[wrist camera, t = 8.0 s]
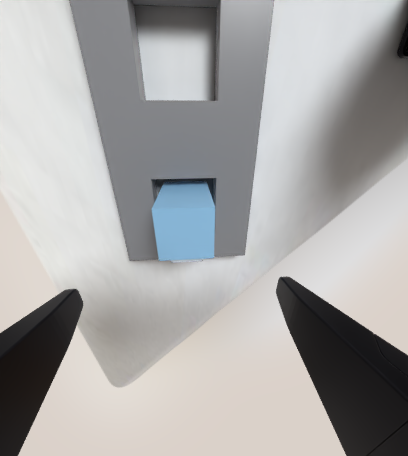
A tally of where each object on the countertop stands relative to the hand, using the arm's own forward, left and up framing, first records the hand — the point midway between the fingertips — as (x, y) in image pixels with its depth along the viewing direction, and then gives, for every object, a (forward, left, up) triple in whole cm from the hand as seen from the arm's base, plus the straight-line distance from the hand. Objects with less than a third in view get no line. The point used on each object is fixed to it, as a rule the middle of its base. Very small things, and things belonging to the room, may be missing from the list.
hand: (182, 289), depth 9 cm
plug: (0, 0, -12) cm, 12 cm away
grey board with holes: (0, -6, -12) cm, 13 cm away
